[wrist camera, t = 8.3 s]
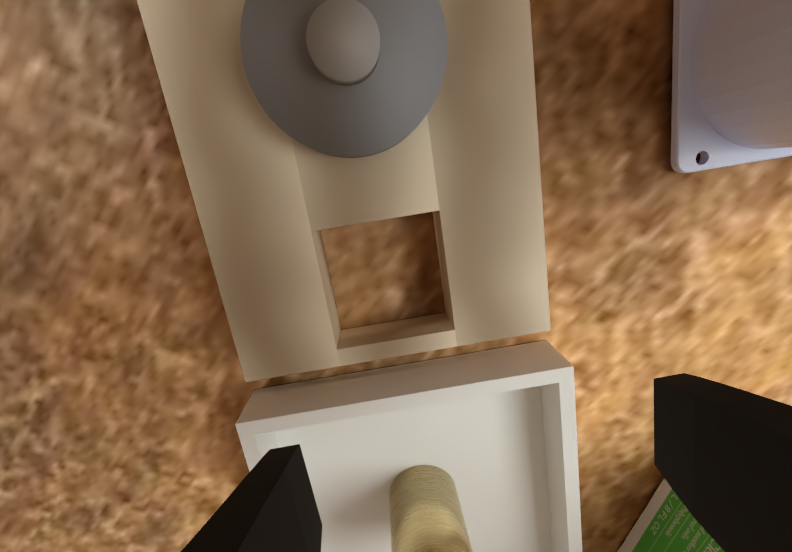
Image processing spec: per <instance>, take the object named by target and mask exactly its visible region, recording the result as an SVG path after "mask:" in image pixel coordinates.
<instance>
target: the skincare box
mask: <svg viewBox="0 0 792 552" xmlns="http://www.w3.org/2000/svg"><path fill="white" fill-rule="evenodd" d="M617 552H724V550H723V549H722V548H721V547H720V546H719V545H718V544H717V543H716V542H715V541H714V539H713V538H712V537H711V536H710V535H709V534H708V533H707V532H706V531H705V529H704V528H703V527H702V526H701V525H700V524H699V523H698V522H697V520H696V519H695V518H694V517H693V516H692V515H691V513H690V512H689V511H688V509H687V508H686V507H685V505H684V504H683V503H682V502H681V500H680V499H679V498H678V496H677V495H676V494H675V492H674V491H673V490H672V488H671V487H670V485H669V484H668V482H667V481H666V480H665V478H664V479H663V481H662V482H661V484H660V485H659V487H658V488H657V490H656V492H655V493H654V495H653V497H652V498H651V500H650V502H649V503H648V505H647V506H646V508H645V509H644V511H643V513H642V514H641V516H640V517H639V519H638V521H637V522H636V524H635V525H634V527H633V528H632V530H631V532H630V533H629V535H628V536H627V538H626V539H625V541H624V543H623V544H622V545H621V547H620V548H619V550H618V551H617Z"/></svg>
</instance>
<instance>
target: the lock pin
mask: <svg viewBox="0 0 792 552" xmlns="http://www.w3.org/2000/svg"><path fill="white" fill-rule="evenodd" d="M389 505H390V528H391V551H392V552H472V548H471V544H470V540H469V536H468V532H467V529H466V525H465V521H464V517H463V513H462V509H461V505H460V502H459V498H458V494H457V490H456V486H455V483H454V480H453V479H452V477H451V476H450V475H449V474H448V473H447V472H446V471H445V470H443V469H441V468H439V467H436V466H432V465H417V466H413V467H410V468H408V469H406V470H404V471H402V472H401V473H400V474H399V475H398V476H397V477H396V478H395V479H394V480H393V482H392V484H391V487H390V490H389Z"/></svg>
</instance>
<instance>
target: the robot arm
mask: <svg viewBox="0 0 792 552" xmlns="http://www.w3.org/2000/svg"><path fill="white" fill-rule="evenodd" d="M698 153H700V156H701V158H700V161H699V162H698V163H696V156H697V154H698ZM788 156H792V0H674V12H673V67H672V122H671V166H672V168H673V170H674V171H676V172H677V173H691V172H697V171H703V170H709V169H715V168H722V167H728V166H734V165H740V164H746V163H752V162H758V161H764V160H770V159H776V158H782V157H788ZM654 460H655V466H656V467H657V468H658V470H659V471H660V473H661V474H662V475H663V477H664V478H665V480H666V481H667V482H668V484H669V485H670V487H671V488H672V490H673V491H674V492H675V494H676V495H677V496H678V498H679V499H680V500H681V502H682V503H683V504H684V505H685V507H686V508H687V509H688V511H689V512H690V513H691V515H692V516H693V517H694V518H695V519H696V520H697V522H698V523H699V524H700V525H701V526H702V527H703V528H704V529H705V531H706V532H707V533H708V534H709V535H710V536H711V537H712V538H713V539H714V541H715V542H716V543H717V544H718V545H719V546H720V547H721V548H722V549H723V550H724V552H792V406H790V405H787V404H784V403H780V402H777V401H774V400H771V399H768V398H765V397H762V396H759V395H756V394H753V393H750V392H747V391H744V390H740V389H737V388H734V387H731V386H728V385H724V384H721V383H718V382H715V381H711V380H708V379H704V378H701V377H697V376H693V375H689V374H685V373H683V374H677V375H672V376H666V377H661V378H656V379H654ZM321 541H322V522H321V519H320V515H319V511H318V508H317V504H316V501H315V497H314V494H313V490H312V486H311V483H310V479H309V476H308V472H307V469H306V465H305V462H304V458H303V454H302V451H301V447H300V444H297V445H291V446H286V447H280V448H275V449H270V450H269V451H268V452H267V453H266V454H265V455H264V456H263V457H262V458H261V460H260V461H259V462H258V463H257V464H256V465H255V466H254V468H253V469H252V470H251V471H250V472H249V473H248V475H247V476H246V477H245V478H244V479H243V481H242V482H241V483H240V484H239V485H238V486H237V488H236V489H235V490H234V491H233V492H232V494H231V495H230V496H229V497H228V498H227V499H226V501H225V502H224V503H223V504H222V505H221V506H220V508H219V509H218V510H217V511H216V512H215V513H214V514H213V516H212V517H211V518H210V519H209V520H208V521H207V523H206V524H205V525H204V526H203V527H202V528H201V530H200V531H199V532H198V533H197V534H196V535H195V536H194V538H193V539H192V540H191V541H190V542H189V543H188V544H187V545H186V547H185V548H184V549H183V550H182V551H181V552H321Z"/></svg>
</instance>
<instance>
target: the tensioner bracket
mask: <svg viewBox="0 0 792 552" xmlns="http://www.w3.org/2000/svg"><path fill="white" fill-rule="evenodd" d="M137 3H138V6H139V10H140V13H141V17H142V20H143V24H144V27H145V31H146V34H147V38H148V41H149V45H150V49H151V52H152V56H153V59H154V63H155V66H156V70H157V73H158V77H159V80H160V84H161V87H162V91H163V94H164V98H165V101H166V105H167V108H168V112H169V115H170V119H171V122H172V126H173V129H174V133H175V136H176V140H177V143H178V147H179V150H180V154H181V157H182V161H183V164H184V168H185V172H186V175H187V179H188V182H189V186H190V189H191V193H192V196H193V200H194V203H195V207H196V210H197V214H198V217H199V221H200V224H201V228H202V231H203V235H204V238H205V242H206V245H207V249H208V252H209V256H210V259H211V263H212V266H213V270H214V273H215V277H216V280H217V284H218V287H219V291H220V294H221V298H222V302H223V305H224V309H225V312H226V316H227V319H228V323H229V326H230V330H231V333H232V337H233V340H234V344H235V347H236V351H237V354H238V358H239V361H240V365H241V368H242V372H243V375H244V379H245V382H250V381H256V380H262V379H268V378H274V377H280V376H286V375H292V374H298V373H303V372H309V371H315V370H321V369H327V368H333V367H339V366H345V365H351V364H356V363H362V362H368V361H374V360H380V359H386V358H392V357H398V356H404V355H409V354H415V353H421V352H427V351H433V350H439V349H445V348H451V347H457V346H462V345H468V344H474V343H480V342H486V341H492V340H498V339H504V338H510V337H515V336H521V335H527V334H533V333H539V332H545V331H551V330H550V314H549V298H548V282H547V267H546V251H545V235H544V219H543V203H542V187H541V171H540V155H539V140H538V124H537V108H536V92H535V76H534V60H533V44H532V29H531V13H530V0H137ZM427 212H432V213H433V220H434V228H435V235H436V243H437V250H438V258H439V265H440V273H441V280H442V288H443V295H444V303H445V310H446V312H445V313H439V314H433V315H427V316H421V317H416V318H410V319H404V320H398V321H392V322H386V323H380V324H374V325H368V326H362V327H356V328H350V329H344V330H341V328H340V323H339V318H338V313H337V308H336V304H335V299H334V294H333V289H332V284H331V280H330V275H329V270H328V265H327V260H326V256H325V251H324V246H323V241H322V236H321V232H320V230H324V229H330V228H336V227H342V226H348V225H354V224H360V223H366V222H373V221H379V220H385V219H391V218H397V217H403V216H409V215H415V214H421V213H427Z"/></svg>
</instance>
